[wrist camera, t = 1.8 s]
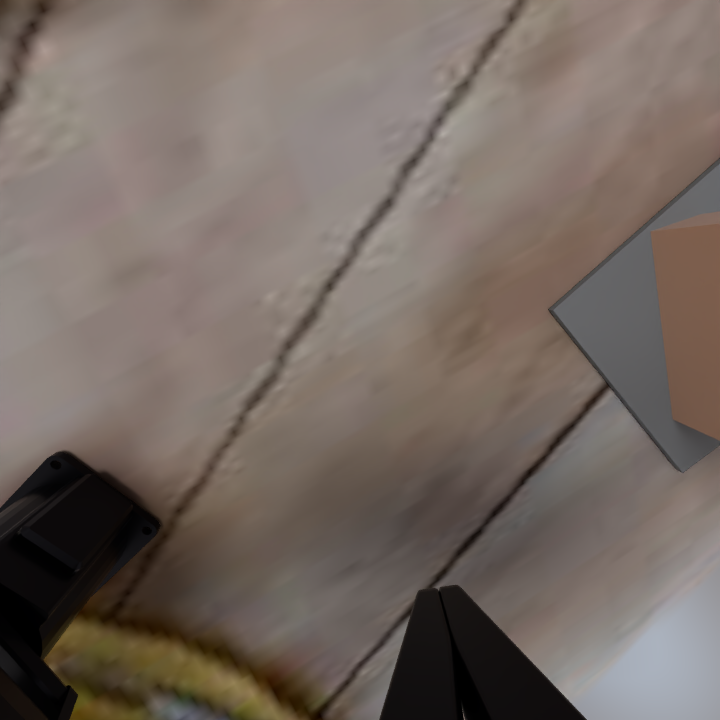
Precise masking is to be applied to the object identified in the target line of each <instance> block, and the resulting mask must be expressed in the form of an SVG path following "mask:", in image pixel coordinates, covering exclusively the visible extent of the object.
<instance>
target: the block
mask: <svg viewBox="0 0 720 720" xmlns="http://www.w3.org/2000/svg"><path fill="white" fill-rule="evenodd" d="M650 232H651V241H652V249H653V257H654V266H655V274H656V283H657V291H658V300H659V308H660V317H661V325H662V333H663V342H664V350H665V359H666V367H667V376H668V384H669V393H670V401H671V410H672V418H673V420H675V421H678V422H680V423H682V424H684V425H686V426H688V427H691V428H693V429H695V430H697V431H699V432H702V433H704V434H706V435H708V436H710V437H713V438H715V439H717V440H719V441H720V211H719V212H712V213H705V214H700V215H697V216H694V217H691V218H688V219H685V220H682V221H679V222H677V223H674V224H671V225H668V226H665V227H662V228H659V229H656V230H653V231H650Z"/></svg>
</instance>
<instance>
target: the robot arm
mask: <svg viewBox="0 0 720 720" xmlns="http://www.w3.org/2000/svg"><path fill="white" fill-rule="evenodd" d="M57 461H59V462H60V463H61V465H60V464H58V463H57ZM147 527H150V528H151V529H152V530H150V529H148V528H147ZM159 529H160V523H159V522H158V521H157V520H156V519H155V518H154V517H152V516H151V515H150V514H148V513H147V512H146V511H144V510H143V509H141V508H140V507H139V506H137V505H136V504H135V503H133V502H132V501H131V500H129V499H128V498H127V497H125V496H124V495H122V494H121V493H120V492H118V491H117V490H116V489H114V488H113V487H112V486H110V485H109V484H108V483H106V482H105V481H103V480H102V479H101V478H99V477H98V476H97V475H95V474H94V473H93V472H91V471H90V470H88V469H87V468H86V467H84V466H83V465H82V464H80V463H79V462H78V461H76V460H75V459H74V458H72V457H71V456H69V455H68V454H66V453H64V452H56V453H55V454H53V455H52V456H50V457H49V458H47V459H46V460H45V461H44V462H43V463H42V464H41V465H40V466H39V468H38V469H37V470H36V471H35V472H34V473H33V474H32V475H31V476H30V477H29V478H28V479H27V480H26V481H25V482H24V483H23V484H22V486H21V487H20V488H19V489H18V490H17V491H16V492H15V493H14V494H13V495H12V496H11V497H10V498H9V499H8V500H7V501H6V502H5V503H4V505H3V506H2V507H1V508H0V720H69V719H70V716H71V714H72V711H73V708H74V705H75V703H76V700H77V697H78V694H77V693H76V692H75V691H74V690H73V689H72V687H71V686H70V685H68V686H65V684H64V683H63V682H62V681H61V680H60V679H59V678H58V677H57V675H56V674H55V673H54V672H53V671H52V670H51V669H50V668H49V666H48V665H47V664H46V663H45V662H44V661H43V660H44V658H45V657H46V656H47V654H48V653H49V652H50V650H51V649H52V648H53V646H54V645H55V644H56V642H57V641H58V640H59V638H60V637H61V636H62V634H63V633H64V632H65V631H66V629H67V628H68V627H69V625H70V624H71V623H72V621H73V620H74V619H75V617H76V616H77V615H78V613H79V612H80V611H81V609H82V608H83V607H84V605H85V604H86V603H87V601H88V600H89V599H90V597H91V596H92V595H93V594H94V593H96V592H97V591H98V590H99V589H100V588H101V587H102V586H103V585H104V584H105V583H106V582H107V581H108V580H109V579H110V578H111V577H112V576H113V575H114V574H116V573H117V572H118V571H119V570H120V569H121V568H122V567H123V566H124V565H125V564H126V563H127V562H128V561H129V560H130V559H131V558H132V557H133V556H134V555H136V554H137V553H138V552H139V551H140V550H141V549H142V548H143V547H144V546H145V545H146V544H147V543H148V542H149V541H150V540H151V539H152V538H153V537H155V535H156V534H157V532H158V531H159ZM462 709H463V711H462ZM463 713H464V717H465V720H587V719H586V718H585V717H584V716H583V715H582V714H581V713H580V712H579V711H578V710H577V709H576V708H575V707H574V706H573V705H572V704H571V703H570V702H569V700H568V699H567V698H566V697H565V696H564V695H563V694H562V693H561V692H560V691H559V690H558V689H557V688H556V687H555V686H554V685H553V684H552V683H551V682H550V681H549V679H548V678H547V677H546V676H545V675H544V674H543V673H542V672H541V671H540V670H539V669H538V668H537V667H536V666H535V665H534V664H533V663H532V662H531V661H530V660H529V659H528V657H527V656H526V655H525V654H524V653H523V652H522V651H521V650H520V649H519V648H518V647H517V646H516V645H515V644H514V643H513V642H512V641H511V640H510V639H509V638H508V636H507V635H506V634H505V633H504V632H503V631H502V630H501V629H500V628H499V627H498V626H497V625H496V624H495V623H494V622H493V621H492V620H491V619H490V618H489V617H488V616H487V614H486V613H485V612H484V611H483V610H482V609H481V608H480V607H479V606H478V605H477V604H476V603H475V602H474V601H473V600H472V599H471V598H470V597H469V596H468V595H467V594H466V592H465V591H464V590H463V589H462V588H461V587H460V586H458V585H451V586H444V587H440V588H439V591H438V589H436V588H430V589H423V590H419V591H418V593H417V595H416V599H415V602H414V605H413V609H412V612H411V615H410V619H409V622H408V625H407V629H406V632H405V635H404V639H403V642H402V645H401V649H400V652H399V655H398V659H397V662H396V665H395V669H394V672H393V675H392V679H391V682H390V685H389V689H388V692H387V695H386V699H385V702H384V706H383V709H382V712H381V716H380V719H379V720H464V717H463Z"/></svg>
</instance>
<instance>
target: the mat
mask: <svg viewBox="0 0 720 720" xmlns="http://www.w3.org/2000/svg"><path fill="white" fill-rule="evenodd" d="M719 211H720V158H719V159H718V160H717V161H716V162H715V163H714V164H713V165H712V166H710V167H709V168H708V169H707V170H706V171H705V172H704V173H702V174H701V175H700V176H699V177H698V178H697V179H696V180H695V181H693V182H692V183H691V184H690V185H689V186H688V187H687V188H685V189H684V190H683V191H682V192H681V193H680V194H679V195H677V196H676V197H675V198H674V199H673V200H672V201H671V202H670V203H668V204H667V205H666V206H665V207H664V208H663V209H662V210H660V211H659V212H658V213H657V214H656V215H655V216H654V217H653V218H651V219H650V220H649V221H648V222H647V223H646V224H645V225H643V226H642V227H641V228H640V229H639V230H638V231H637V232H636V233H634V234H633V235H632V236H631V237H630V238H629V239H628V240H626V241H625V242H624V243H623V244H622V245H621V246H620V247H619V248H617V249H616V250H615V251H614V252H613V253H612V254H611V255H609V256H608V257H607V258H606V259H605V260H604V261H603V262H601V263H600V264H599V265H598V266H597V267H596V268H595V269H594V270H592V271H591V272H590V273H589V274H588V275H587V276H586V277H584V278H583V279H582V280H581V281H580V282H579V283H578V284H577V285H575V286H574V287H573V288H572V289H571V290H570V291H569V292H567V293H566V294H565V295H564V296H563V297H562V298H561V299H560V300H558V301H557V302H556V303H555V304H554V305H553V306H552V307H550V308H549V309H548V310H549V311H550V312H551V313H552V315H553V316H554V317H555V318H556V320H557V321H558V322H559V323H560V325H561V326H562V327H563V328H564V330H565V331H566V332H567V333H568V335H569V336H570V337H571V338H572V340H573V341H574V342H575V343H576V345H577V346H578V347H579V348H580V350H581V351H582V352H583V353H584V355H585V356H586V357H587V358H588V360H589V361H590V362H591V363H592V365H593V366H594V367H595V368H596V370H597V371H598V372H599V373H600V375H601V376H602V377H603V378H604V380H605V381H606V382H607V383H608V385H609V386H610V387H611V388H612V390H613V391H614V392H615V393H616V395H617V396H618V397H619V398H620V400H621V401H622V402H623V403H624V405H625V406H626V407H627V408H628V410H629V411H630V412H631V413H632V415H633V416H634V417H635V418H636V419H637V421H638V422H639V423H640V424H641V426H642V427H643V428H644V429H645V431H646V432H647V433H648V434H649V436H650V437H651V438H652V439H653V441H654V442H655V443H656V444H657V446H658V447H659V448H660V449H661V451H662V452H663V453H664V454H665V456H666V457H667V458H668V459H669V461H670V462H671V463H672V464H673V466H674V467H675V468H676V469H677V470H678V471H680V472H682V473H684V472H685V471H686V470H688V469H689V468H690V467H691V466H693V465H694V464H695V463H697V462H698V461H699V460H701V459H702V458H703V457H705V456H706V455H707V454H709V453H710V452H711V451H713V450H714V449H715V448H717V447H718V446H719V445H720V441H719V440H717V439H715V438H713V437H710V436H708V435H706V434H704V433H702V432H699V431H697V430H695V429H693V428H691V427H688V426H686V425H684V424H682V423H680V422H678V421H675V420H673V418H672V410H671V401H670V393H669V384H668V376H667V367H666V359H665V350H664V342H663V333H662V325H661V317H660V308H659V300H658V291H657V283H656V274H655V266H654V257H653V249H652V241H651V232H650V231H653V230H656V229H659V228H662V227H665V226H668V225H671V224H674V223H677V222H679V221H682V220H685V219H688V218H691V217H694V216H697V215H700V214H705V213H712V212H719Z"/></svg>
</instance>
